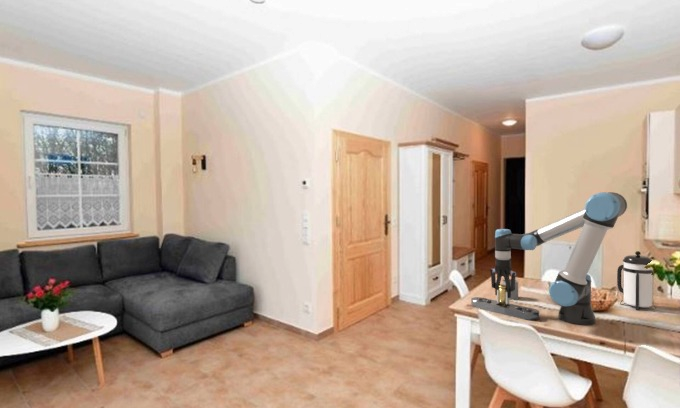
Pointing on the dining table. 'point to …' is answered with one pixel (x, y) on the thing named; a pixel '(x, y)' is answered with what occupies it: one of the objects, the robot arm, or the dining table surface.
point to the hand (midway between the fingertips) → (503, 302)
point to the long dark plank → (506, 309)
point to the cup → (513, 293)
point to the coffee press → (636, 281)
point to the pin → (502, 295)
